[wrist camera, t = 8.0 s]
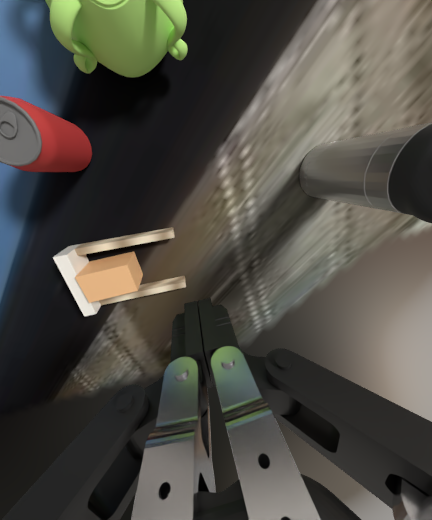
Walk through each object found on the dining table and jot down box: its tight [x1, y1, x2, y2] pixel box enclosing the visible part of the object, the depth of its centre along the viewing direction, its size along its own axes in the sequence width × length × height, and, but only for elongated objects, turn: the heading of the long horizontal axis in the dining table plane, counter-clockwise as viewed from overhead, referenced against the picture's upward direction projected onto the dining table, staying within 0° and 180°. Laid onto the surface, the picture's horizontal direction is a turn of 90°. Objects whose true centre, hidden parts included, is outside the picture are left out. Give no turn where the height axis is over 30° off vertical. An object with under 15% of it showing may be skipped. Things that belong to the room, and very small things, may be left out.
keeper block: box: [75, 252, 143, 303], centre depth 35 cm, size 8×5×6 cm, turn 101°
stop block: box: [53, 244, 101, 316], centre depth 35 cm, size 2×11×5 cm, turn 9°
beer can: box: [0, 96, 92, 172], centre depth 24 cm, size 7×7×12 cm
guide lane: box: [75, 227, 186, 305], centre depth 37 cm, size 16×11×2 cm
